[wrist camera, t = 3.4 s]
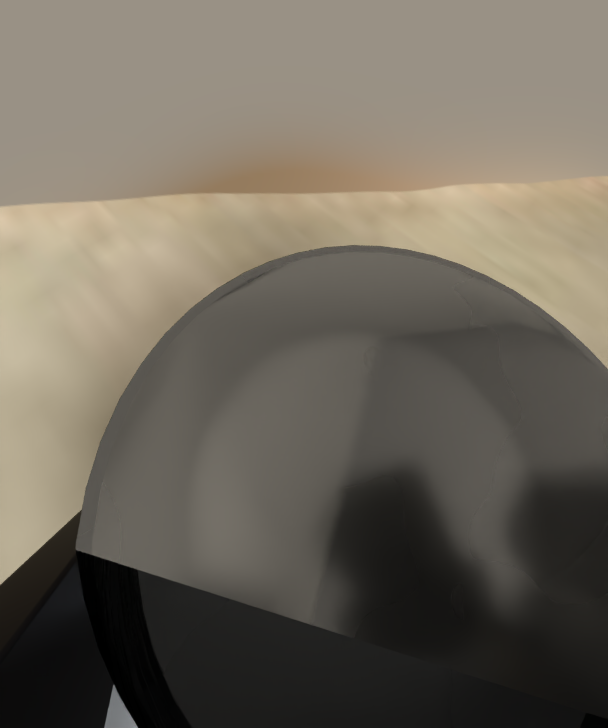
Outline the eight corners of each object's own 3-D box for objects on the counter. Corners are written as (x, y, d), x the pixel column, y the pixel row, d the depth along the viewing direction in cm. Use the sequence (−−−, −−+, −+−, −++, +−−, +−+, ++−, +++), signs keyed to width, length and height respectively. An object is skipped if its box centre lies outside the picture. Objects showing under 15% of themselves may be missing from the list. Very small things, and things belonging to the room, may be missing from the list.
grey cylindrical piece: (322, 576, 13) (871, 1300, 1) (214, 530, 13) (-163, 798, 1) (355, 461, 15) (669, 343, 4) (262, 423, 15) (262, 189, 4)
